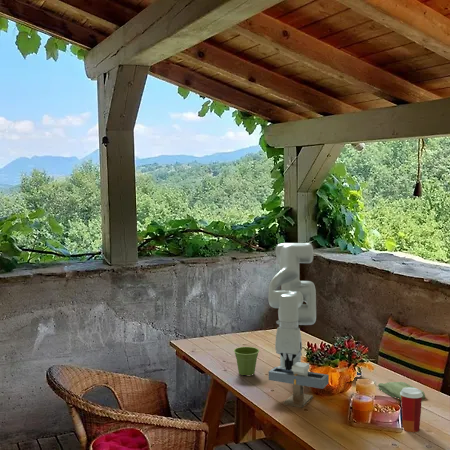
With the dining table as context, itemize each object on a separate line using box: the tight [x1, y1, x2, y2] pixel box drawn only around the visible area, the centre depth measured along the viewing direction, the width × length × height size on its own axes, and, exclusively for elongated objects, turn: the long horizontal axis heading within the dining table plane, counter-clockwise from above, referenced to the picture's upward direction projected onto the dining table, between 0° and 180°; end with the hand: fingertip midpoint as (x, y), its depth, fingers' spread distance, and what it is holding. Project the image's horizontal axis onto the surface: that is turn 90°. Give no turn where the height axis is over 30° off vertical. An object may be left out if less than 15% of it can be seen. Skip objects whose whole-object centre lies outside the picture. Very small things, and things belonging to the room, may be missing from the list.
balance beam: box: [268, 366, 330, 409], centre depth 232 cm, size 23×12×12 cm, turn 62°
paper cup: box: [400, 387, 423, 433], centre depth 204 cm, size 8×8×14 cm
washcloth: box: [377, 381, 426, 400], centre depth 240 cm, size 13×18×3 cm
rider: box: [292, 362, 310, 376], centre depth 231 cm, size 5×6×5 cm
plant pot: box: [233, 346, 260, 376], centre depth 266 cm, size 12×12×11 cm
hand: (288, 369), depth 234 cm, fingers closed
